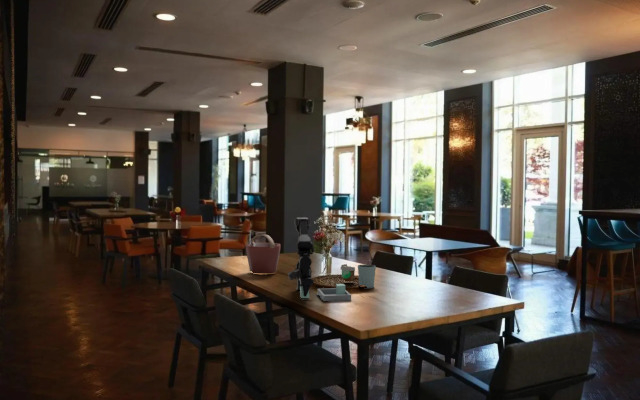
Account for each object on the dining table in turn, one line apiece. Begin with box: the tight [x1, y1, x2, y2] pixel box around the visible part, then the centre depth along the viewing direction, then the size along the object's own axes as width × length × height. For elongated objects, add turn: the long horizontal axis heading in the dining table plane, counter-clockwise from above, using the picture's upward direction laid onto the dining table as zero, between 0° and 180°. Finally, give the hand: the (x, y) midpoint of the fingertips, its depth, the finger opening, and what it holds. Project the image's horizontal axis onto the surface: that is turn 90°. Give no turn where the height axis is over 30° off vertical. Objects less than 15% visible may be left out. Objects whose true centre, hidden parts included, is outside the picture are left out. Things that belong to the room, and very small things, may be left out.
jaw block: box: [299, 286, 310, 299], centre depth 259 cm, size 4×4×6 cm
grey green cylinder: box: [357, 264, 377, 289], centre depth 288 cm, size 10×10×12 cm
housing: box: [317, 283, 352, 302], centre depth 260 cm, size 17×14×6 cm
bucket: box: [245, 234, 281, 273], centre depth 331 cm, size 24×22×25 cm
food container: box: [340, 263, 356, 282], centre depth 299 cm, size 12×6×10 cm, turn 21°
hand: (304, 295), depth 259 cm, fingers closed on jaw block, 4 cm apart
